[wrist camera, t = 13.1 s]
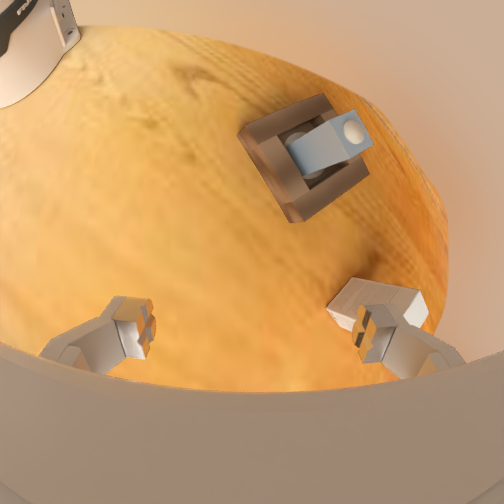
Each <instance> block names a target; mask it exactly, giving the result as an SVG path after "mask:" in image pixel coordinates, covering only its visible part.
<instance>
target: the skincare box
mask: <svg viewBox="0 0 504 504" xmlns="http://www.w3.org/2000/svg"><path fill="white" fill-rule="evenodd" d="M386 303H393V304H395V305H396V307H397V308H398V309H399V311H400V312H401V313H402V315H403V316H404V318H405V319H406V320H407V322H408V323H409V324H410V325H414V326H416V327H418V328H420V327H421V325H422V324H423V322H424V320H425V319H426V317H427V315H428V314H429V311H428V309H427V306H426V304H425V302H424V299H423V296H422V294H421V291H420V290H419V289H413V288H407V287H402V286H396V285H391V284H386V283H381V282H376V281H371V280H366V279H361V278H356V277H351V279H350V280H349V281H348V282H347V284H346V285H345V286H344V287H343V288H342V290H341V291H340V292H339V293H338V294H337V295H336V297H335V298H334V299H333V300H332V301H331V302H330V303H329V305H328V306H327V307H326V309H327V310H328V312H329V313H330V314H331V316H332V317H333V318H334V319H335V321H336V322H337V323H338V325H339V326H340V327H342V328H344V329H347V330H349V331H351V332H352V328H353V324H354V322H355V321H356V320H357V319H358V316H357V311H358V308H359V306H360V305H374V304H386Z"/></svg>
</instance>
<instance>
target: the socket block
mask: <svg viewBox="0 0 504 504" xmlns="http://www.w3.org/2000/svg"><path fill="white" fill-rule="evenodd" d="M337 116H338V115H337V114H336V112H335V111H334V109H333V107H332V106H331V104H330V103H329V101H328V99H327V98H326V96H325V95H324V93H321V94H318V95H315V96H313V97H310V98H307V99H305V100H302V101H300V102H297V103H295V104H292V105H290V106H287V107H285V108H283V109H280V110H278V111H276V112H273V113H271V114H269V115H266V116H264V117H262V118H260V119H258V120H255V121H253V122H251V123H249V124H247V125H245V127H244V128H243V129H242V130H241V131H240V133H239V134H238V135H237V137H238V139H239V140H240V142H241V143H242V145H243V147H244V148H245V150H246V151H247V153H248V155H249V156H250V158H251V159H252V161H253V163H254V164H255V166H256V167H257V169H258V171H259V172H260V174H261V175H262V177H263V179H264V180H265V182H266V184H267V185H268V187H269V189H270V190H271V192H272V194H273V195H274V197H275V199H276V200H277V202H278V204H279V205H280V207H281V209H282V210H283V212H284V214H285V216H286V217H287V219H288V221H289V222H290V223H296V222H305V221H306V220H308V219H309V218H310V217H312V216H313V215H314V214H316V213H317V212H319V211H320V210H321V209H323V208H324V207H325V206H327V205H328V204H330V203H331V202H332V201H334V200H335V199H336V198H338V197H339V196H341V195H342V194H343V193H345V192H346V191H347V190H349V189H350V188H351V187H353V186H354V185H356V184H357V183H358V182H360V181H361V180H362V179H364V178H365V177H366V176H368V175H369V174H370V173H369V171H368V169H367V167H366V165H365V163H364V161H363V160H362V158H361V156H360V154H357V155H355V156H354V157H352V158H350V159H348V160H345V161H342V162H339V163H337V164H334V165H331V166H328V167H326V168H323V169H320V170H318V171H315V172H312V173H310V174H307V175H304V176H302V174H301V173H300V171H299V169H298V167H297V166H296V164H295V162H294V161H293V159H292V157H291V155H290V154H289V152H288V150H287V149H286V146H288V145H289V144H291V143H293V142H294V141H296V140H297V139H299V138H300V137H302V136H304V135H305V134H307V133H308V132H310V131H312V130H313V129H315V128H317V127H318V126H320V125H321V124H323V123H325V122H326V121H328V120H330V119H333V118H335V117H337Z"/></svg>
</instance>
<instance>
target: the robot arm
mask: <svg viewBox="0 0 504 504" xmlns="http://www.w3.org/2000/svg"><path fill="white" fill-rule="evenodd" d="M79 40H80V33H79V30H78V27H77V24H76V21H75V18H74V15H73V12H72V9H71V6H70V3H69V0H0V108H4V107H7V106H10V105H12V104H14V103H16V102H18V101H19V100H21V99H23V98H24V97H26V96H27V95H28V94H30V93H31V92H32V91H33V90H34V89H36V88H37V87H38V86H39V85H40V84H41V83H42V82H43V81H44V80H45V79H46V78H47V77H48V75H49V74H50V73H51V72H52V71H53V69H54V68H55V66H56V65H57V63H58V62H59V60H60V59H61V57H62V56H63V55H64V54H65V53H66V52H67V51H68V50H69V49H70V48H72V47H73V46H74V45H75V44H76V43H77V42H78V41H79ZM152 310H153V304H152V301H151V300H150V299H145V298H136V297H127V296H114V298H113V299H112V300H111V302H110V303H109V304H108V306H107V307H106V309H105V310H104V311H103V313H102V314H101V316H100V317H99V318H97V317H95V318H93V319H91V320H89V321H87V322H85V323H83V324H81V325H79V326H77V327H75V328H73V329H71V330H69V331H67V332H65V333H63V334H61V335H59V336H57V337H55V338H53V339H51V340H50V341H49V343H48V344H47V345H46V347H45V348H44V349H43V351H42V352H41V354H40V355H39V356H36V355H33V354H30V353H28V352H25V351H22V350H20V349H17V348H15V347H12V346H10V345H7V344H5V343H2V342H0V504H504V350H503V351H501V352H498V353H496V354H493V355H491V356H487V357H485V358H482V359H479V360H476V361H473V362H470V363H466V362H465V361H464V359H463V358H462V357H461V355H460V354H459V352H458V351H457V350H456V348H455V347H453V346H451V345H449V344H447V343H445V342H444V341H442V340H440V339H438V338H436V337H434V336H433V335H431V334H429V333H427V332H425V331H423V330H421V329H420V328H418V327H416V326H414V325H410V324H409V323H408V322H407V320H406V319H405V318H404V316H403V315H402V313H401V312H400V311H399V309H398V308H397V307H396V305H395V304H393V303H386V304H374V305H360V306H359V308H358V311H357V316H358V319H357V320H356V321H355V322H354V324H353V328H352V338H353V342H354V344H355V345H356V346H357V347H359V351H358V354H359V356H360V358H361V360H362V363H375V362H381V363H382V364H383V365H384V366H386V367H387V368H388V369H389V370H390V371H391V372H393V373H394V374H395V375H396V376H397V377H399V378H400V379H401V380H397V381H391V382H386V383H380V384H373V385H366V386H358V387H350V388H341V389H330V390H317V391H300V392H228V391H211V390H199V389H188V388H179V387H171V386H163V385H156V384H149V383H143V382H137V381H132V380H126V379H121V378H116V377H112V376H107V375H105V374H106V373H108V372H109V371H110V370H111V369H113V368H114V367H115V366H116V365H118V364H119V363H120V362H121V361H123V360H124V359H125V358H126V357H129V358H137V359H145V360H146V357H147V355H148V352H149V350H150V345H149V343H150V342H151V341H153V340H154V337H155V333H156V320H155V317H154V316H153V315H152V314H151V312H152Z"/></svg>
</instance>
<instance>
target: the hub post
mask: <svg viewBox="0 0 504 504" xmlns="http://www.w3.org/2000/svg"><path fill="white" fill-rule="evenodd" d="M372 145H374V144H373V142H372V140H371V138H370V136H369V134H368V132H367V130H366V129H365V127H364V125H363V123H362V121H361V120H360V118H359V116H358V114H357V113H356V111H355V109H354V110H351V111H349V112H347V113H344V114H342V115H339V116H337V117H335V118H333V119H330V120H328V121H326V122H325V123H323V124H321V125H320V126H318V127H317V128H315V129H313V130H312V131H310V132H308V133H307V134H305V135H304V136H302V137H300V138H299V139H297V140H296V141H294V142H293V143H291V144H289V145H288V146H286V149H287V150H288V152H289V154H290V155H291V157H292V159H293V161H294V162H295V164H296V166H297V167H298V169H299V171H300V173H301V174H302V176H304V175H307V174H310V173H312V172H315V171H318V170H320V169H323V168H326V167H328V166H331V165H334V164H337V163H339V162H342V161H345V160H348V159H350V158H352V157H354V156H355V155H357V154H359V153H360V152H362V151H364V150H365V149H367V148H369V147H370V146H372Z"/></svg>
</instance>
